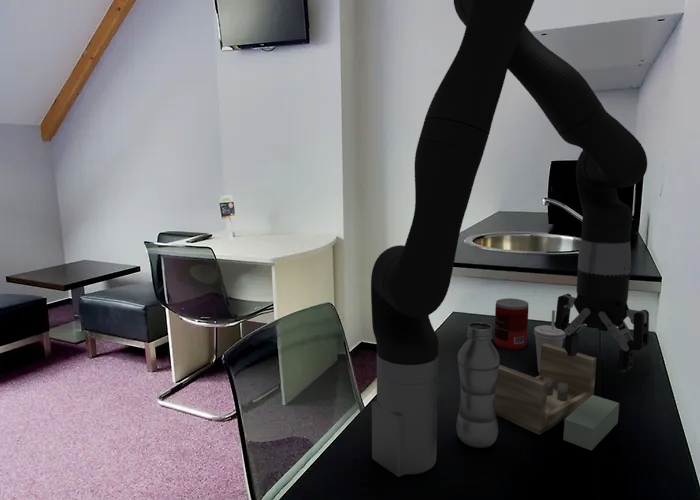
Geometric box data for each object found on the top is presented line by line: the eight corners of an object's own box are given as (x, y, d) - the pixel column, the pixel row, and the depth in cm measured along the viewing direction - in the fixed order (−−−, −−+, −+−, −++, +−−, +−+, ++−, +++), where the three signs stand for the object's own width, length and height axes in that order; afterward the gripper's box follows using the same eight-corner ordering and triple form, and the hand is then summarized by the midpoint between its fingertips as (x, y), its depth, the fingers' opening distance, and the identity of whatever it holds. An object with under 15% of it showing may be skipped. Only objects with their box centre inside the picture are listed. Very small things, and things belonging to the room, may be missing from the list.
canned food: (529, 342, 128) (532, 300, 126) (521, 353, 121) (524, 308, 119) (499, 337, 132) (501, 296, 130) (490, 347, 125) (491, 304, 123)
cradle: (539, 434, 85) (542, 384, 84) (488, 411, 93) (490, 365, 92) (593, 403, 96) (596, 358, 95) (543, 384, 104) (545, 342, 103)
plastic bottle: (490, 458, 79) (495, 335, 75) (449, 445, 82) (452, 328, 79) (502, 438, 84) (507, 323, 81) (463, 427, 88) (466, 317, 84)
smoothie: (566, 379, 106) (570, 315, 104) (533, 377, 108) (537, 314, 105) (559, 367, 112) (563, 306, 110) (529, 365, 114) (532, 305, 111)
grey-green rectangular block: (591, 452, 81) (593, 429, 80) (563, 441, 84) (564, 419, 83) (617, 424, 89) (619, 403, 88) (590, 415, 92) (592, 394, 91)
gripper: (549, 264, 85) (545, 356, 88) (639, 279, 74) (631, 383, 77) (573, 258, 89) (568, 345, 92) (661, 271, 78) (652, 370, 81)
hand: (596, 362), depth 84 cm, fingers open, 8 cm apart
